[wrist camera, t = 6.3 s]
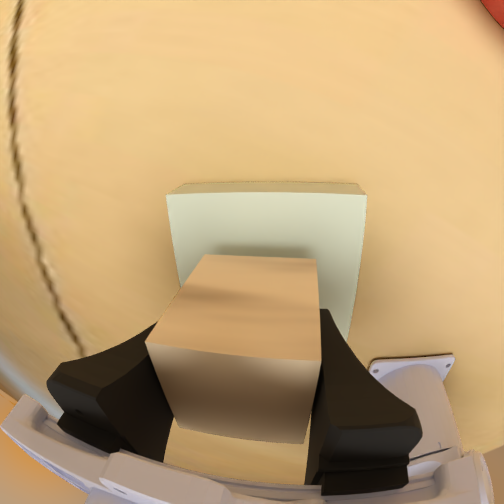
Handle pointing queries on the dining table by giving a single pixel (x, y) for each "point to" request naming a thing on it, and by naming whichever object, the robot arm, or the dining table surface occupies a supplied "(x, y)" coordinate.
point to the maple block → (242, 348)
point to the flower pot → (495, 9)
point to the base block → (276, 230)
